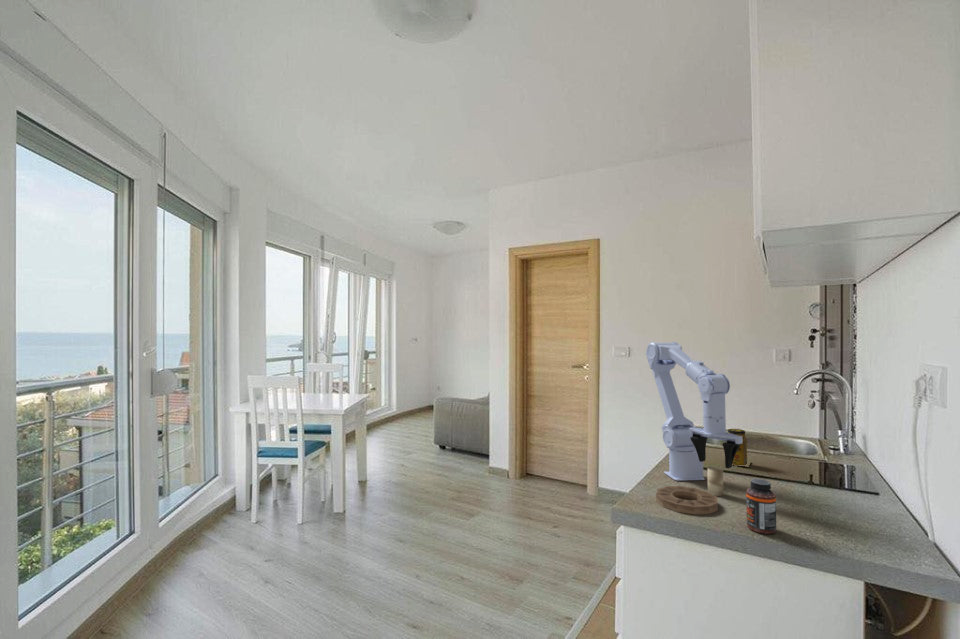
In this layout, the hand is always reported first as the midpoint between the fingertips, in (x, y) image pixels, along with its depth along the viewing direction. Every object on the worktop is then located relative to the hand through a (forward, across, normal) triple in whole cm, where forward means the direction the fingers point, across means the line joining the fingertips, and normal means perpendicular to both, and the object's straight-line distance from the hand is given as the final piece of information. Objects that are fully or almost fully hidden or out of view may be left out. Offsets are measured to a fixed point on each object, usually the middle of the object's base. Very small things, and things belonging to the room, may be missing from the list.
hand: (715, 464), depth 129 cm
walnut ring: (+8, -1, -13) cm, 16 cm away
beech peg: (+8, 0, 0) cm, 9 cm away
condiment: (+9, -11, +35) cm, 38 cm away
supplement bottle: (+9, +18, -14) cm, 25 cm away
